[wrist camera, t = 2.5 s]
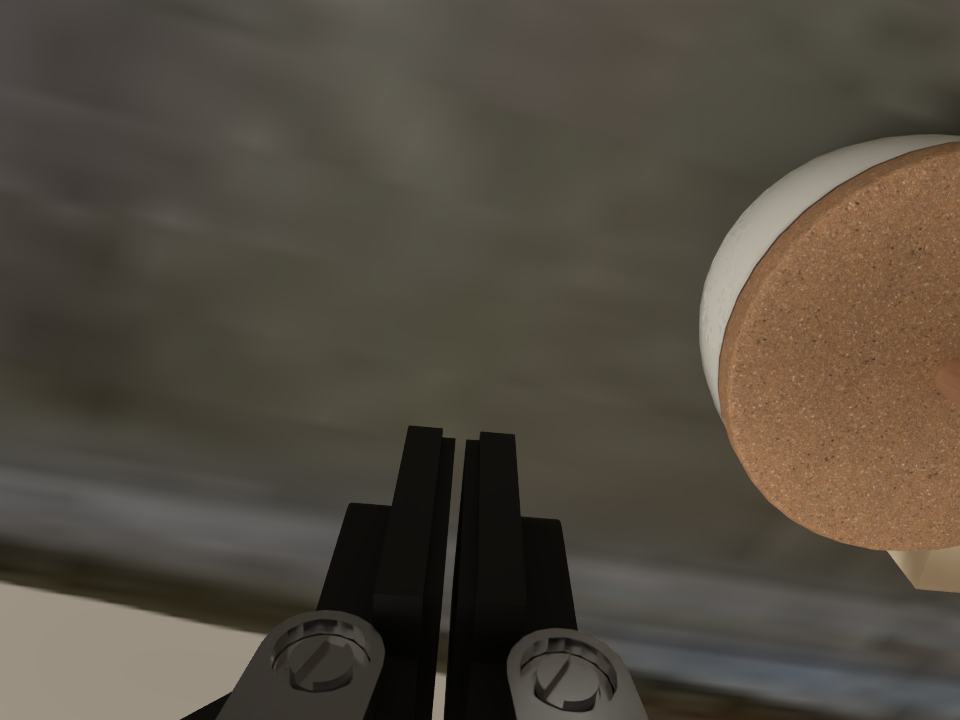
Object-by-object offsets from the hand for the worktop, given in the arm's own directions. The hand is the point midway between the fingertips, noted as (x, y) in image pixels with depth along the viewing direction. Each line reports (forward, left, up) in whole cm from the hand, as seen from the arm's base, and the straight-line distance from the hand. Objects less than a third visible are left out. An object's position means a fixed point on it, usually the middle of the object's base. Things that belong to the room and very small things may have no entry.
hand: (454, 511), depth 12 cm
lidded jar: (0, +12, -15) cm, 19 cm away
